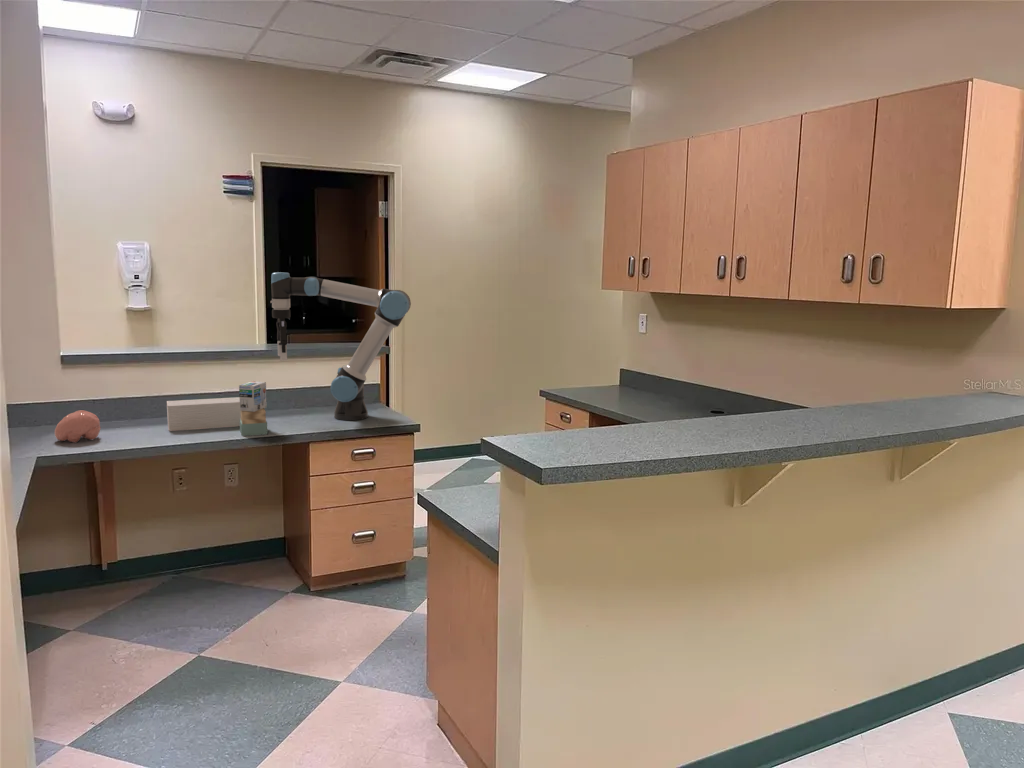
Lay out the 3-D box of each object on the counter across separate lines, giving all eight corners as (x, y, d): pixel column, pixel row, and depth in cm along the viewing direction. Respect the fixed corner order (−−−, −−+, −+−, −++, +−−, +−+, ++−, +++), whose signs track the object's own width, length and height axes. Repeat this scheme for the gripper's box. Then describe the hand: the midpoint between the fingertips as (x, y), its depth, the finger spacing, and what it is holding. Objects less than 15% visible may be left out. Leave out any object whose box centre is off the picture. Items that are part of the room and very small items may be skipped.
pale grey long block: (247, 420, 326) (246, 396, 324) (250, 425, 317) (249, 401, 315) (167, 425, 312) (166, 401, 310) (168, 431, 303) (167, 406, 301)
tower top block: (263, 418, 310) (263, 406, 309) (265, 422, 302) (265, 410, 301) (240, 419, 306) (240, 407, 305) (242, 424, 298) (242, 412, 297)
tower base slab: (265, 429, 312) (264, 417, 311) (267, 434, 303) (267, 422, 302) (239, 430, 308) (239, 419, 307) (241, 436, 299) (241, 424, 298)
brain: (61, 455, 278) (44, 427, 274) (68, 446, 290) (51, 419, 286) (104, 436, 282) (87, 408, 278) (109, 428, 294) (93, 401, 290)
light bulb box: (254, 412, 298) (253, 386, 296) (239, 411, 299) (238, 385, 297) (267, 407, 308) (266, 381, 307) (252, 405, 309) (251, 380, 308)
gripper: (269, 306, 325) (271, 354, 329) (274, 311, 302) (275, 362, 306) (287, 306, 328) (288, 353, 332) (293, 311, 305) (294, 361, 309)
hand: (282, 357), depth 319 cm, fingers open, 13 cm apart
